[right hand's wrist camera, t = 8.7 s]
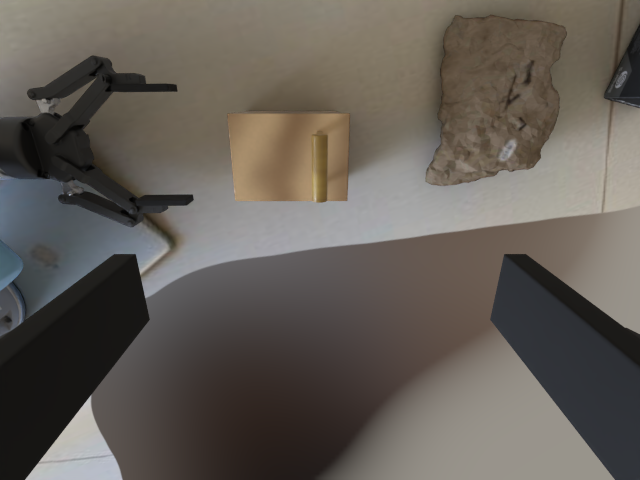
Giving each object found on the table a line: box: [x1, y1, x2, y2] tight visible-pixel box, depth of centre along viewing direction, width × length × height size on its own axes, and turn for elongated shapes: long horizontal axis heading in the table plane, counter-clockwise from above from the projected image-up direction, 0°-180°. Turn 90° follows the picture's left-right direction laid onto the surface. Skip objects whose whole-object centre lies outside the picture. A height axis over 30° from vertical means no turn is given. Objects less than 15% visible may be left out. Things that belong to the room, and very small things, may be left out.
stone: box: [426, 15, 567, 186], centre depth 46 cm, size 21×15×6 cm
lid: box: [227, 113, 350, 202], centre depth 38 cm, size 14×10×8 cm
